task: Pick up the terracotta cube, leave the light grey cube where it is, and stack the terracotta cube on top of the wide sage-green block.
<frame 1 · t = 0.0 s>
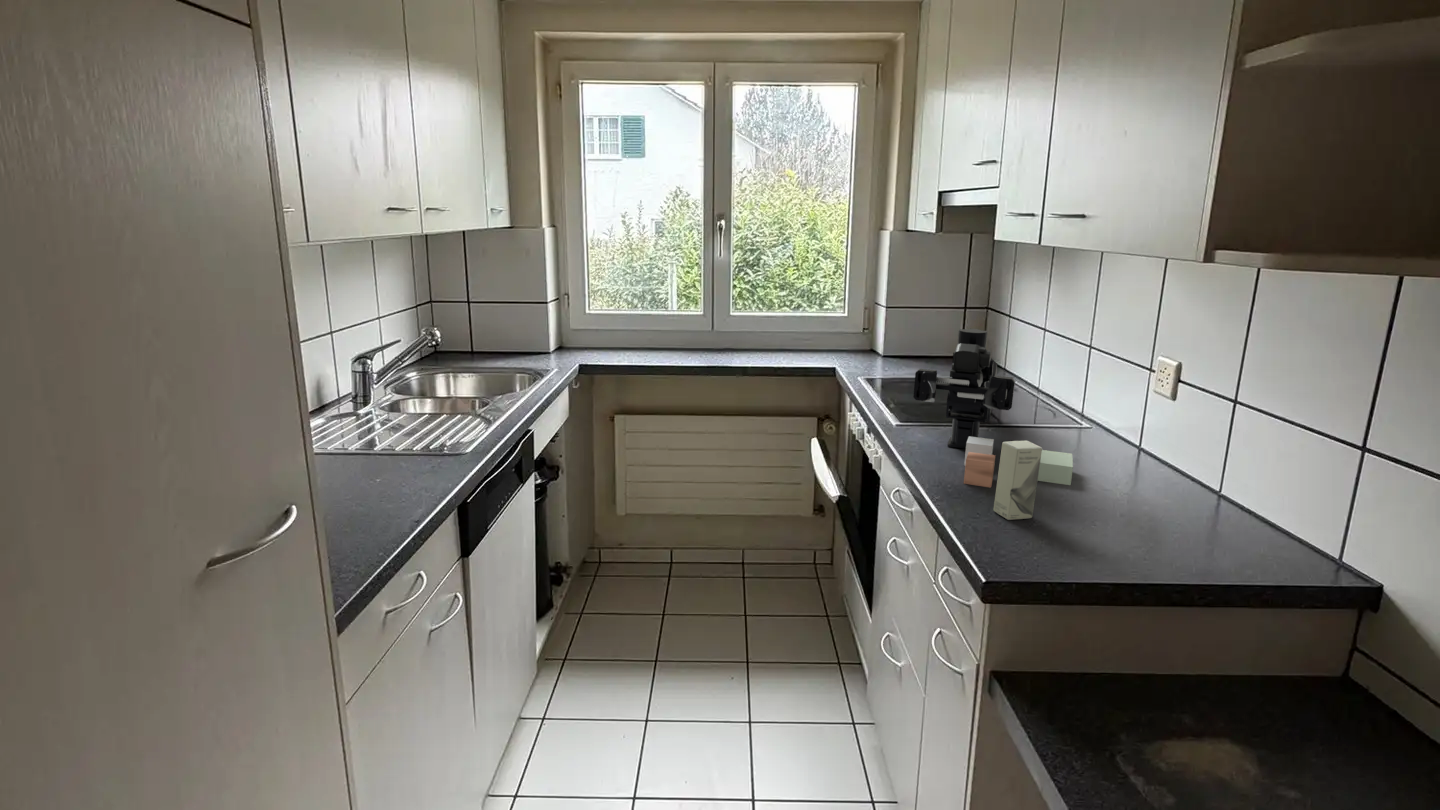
hand: (958, 398, 145), 17 cm above the worktop, tool horizontal, fingers open, 9 cm apart
grey cube: (977, 464, 160), on the worktop
terracotta cube: (978, 481, 150), on the worktop
sage base block: (1045, 476, 154), on the worktop
box: (1013, 515, 134), on the worktop
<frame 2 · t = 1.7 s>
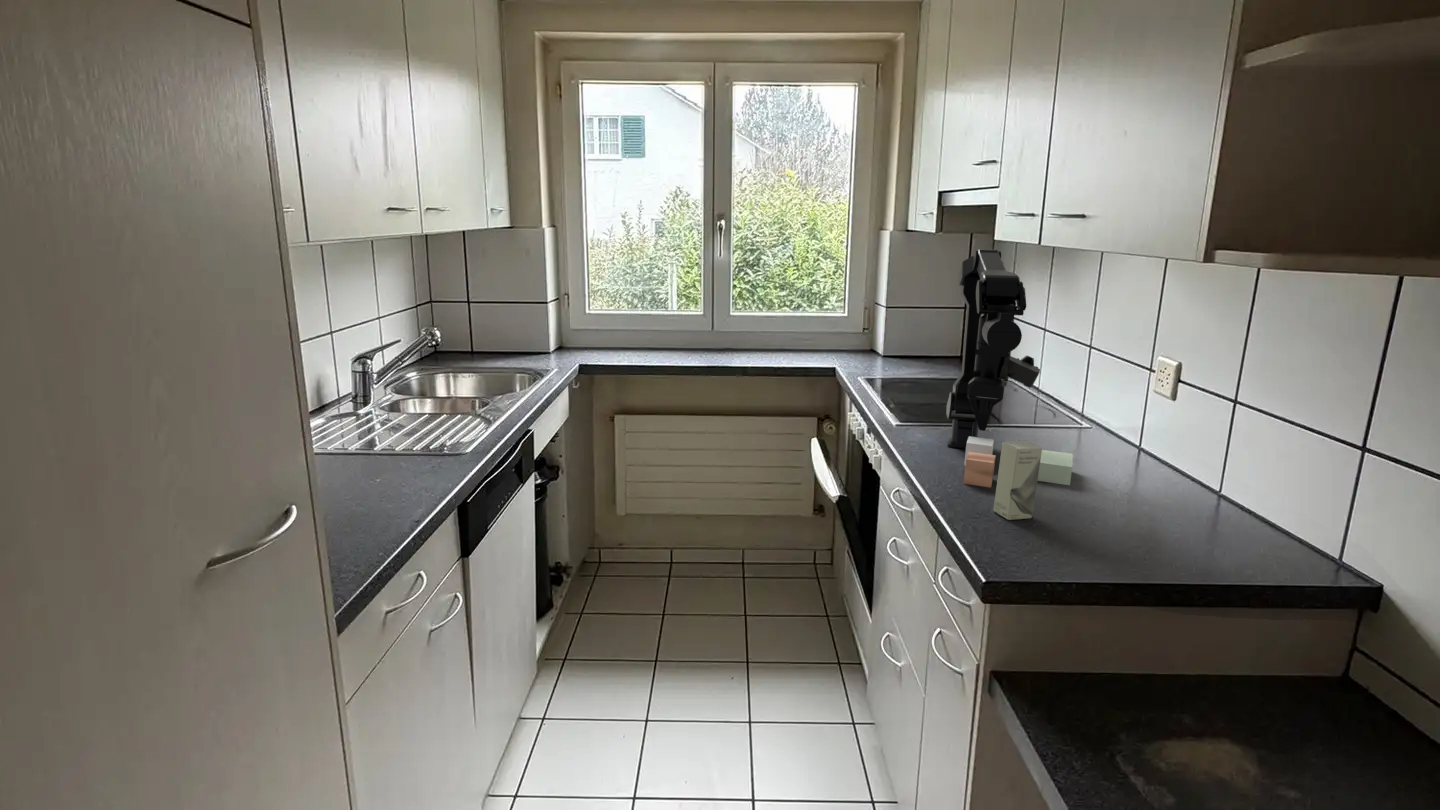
hand: (984, 424, 147), 11 cm above the worktop, tool pointing down, fingers open, 9 cm apart
nothing on the worktop moved.
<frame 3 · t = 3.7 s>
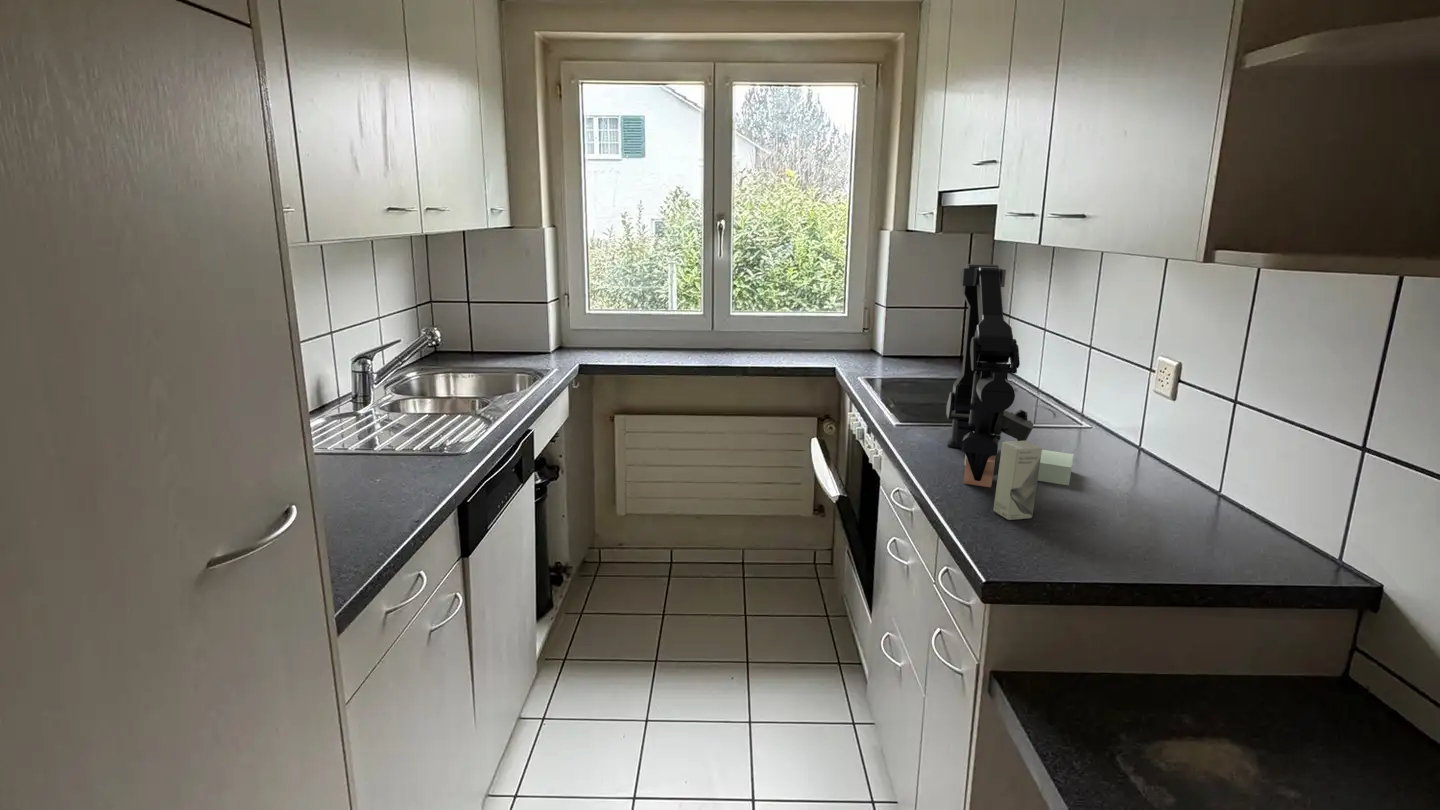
hand: (978, 476, 150), 1 cm above the worktop, tool pointing down, fingers closed on terracotta cube, 5 cm apart
terracotta cube: (978, 481, 150), on the worktop, touching gripper
everything else where it was.
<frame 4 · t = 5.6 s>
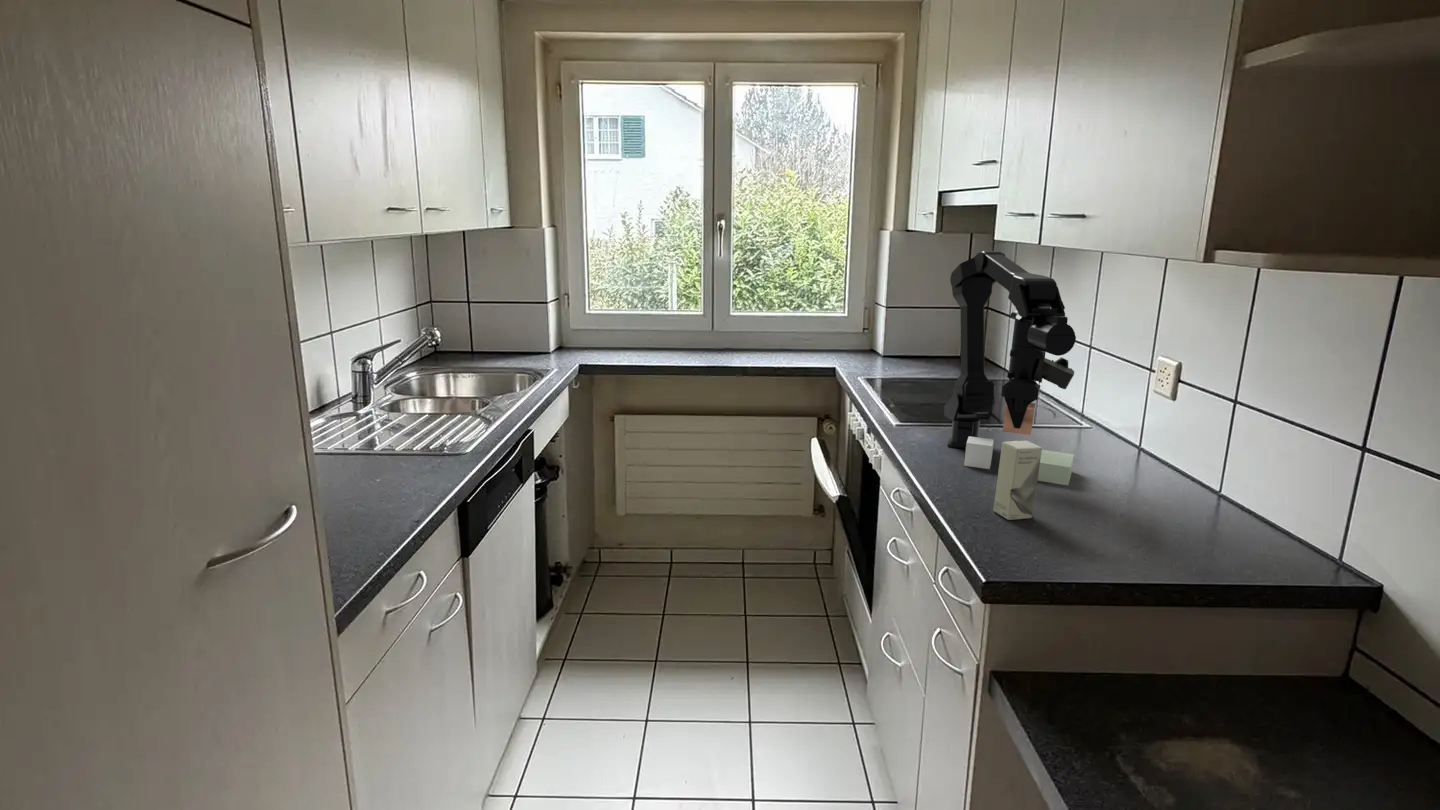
hand: (1018, 424, 149), 11 cm above the worktop, tool pointing down, fingers closed on terracotta cube, 5 cm apart
terracotta cube: (1017, 429, 150), point 10 cm above the worktop, touching gripper
everything else where it was.
when the fingers open (6 cm above the worktop, at t = 7.7 s): terracotta cube drops 2 cm, point 4 cm above the worktop.
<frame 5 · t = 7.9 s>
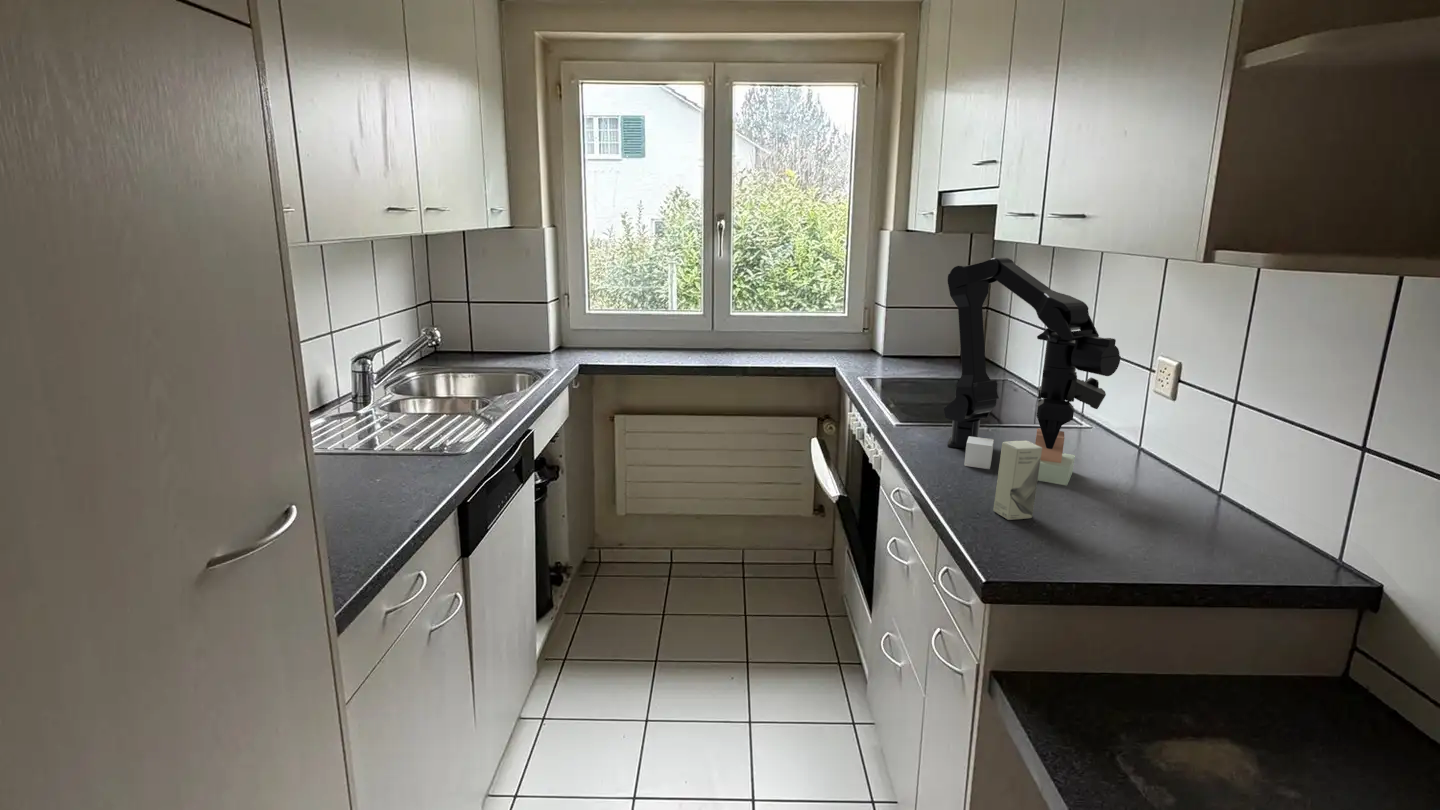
hand: (1049, 443, 153), 6 cm above the worktop, tool pointing down, fingers open, 7 cm apart
terracotta cube: (1047, 457, 153), point 4 cm above the worktop
everything else where it was.
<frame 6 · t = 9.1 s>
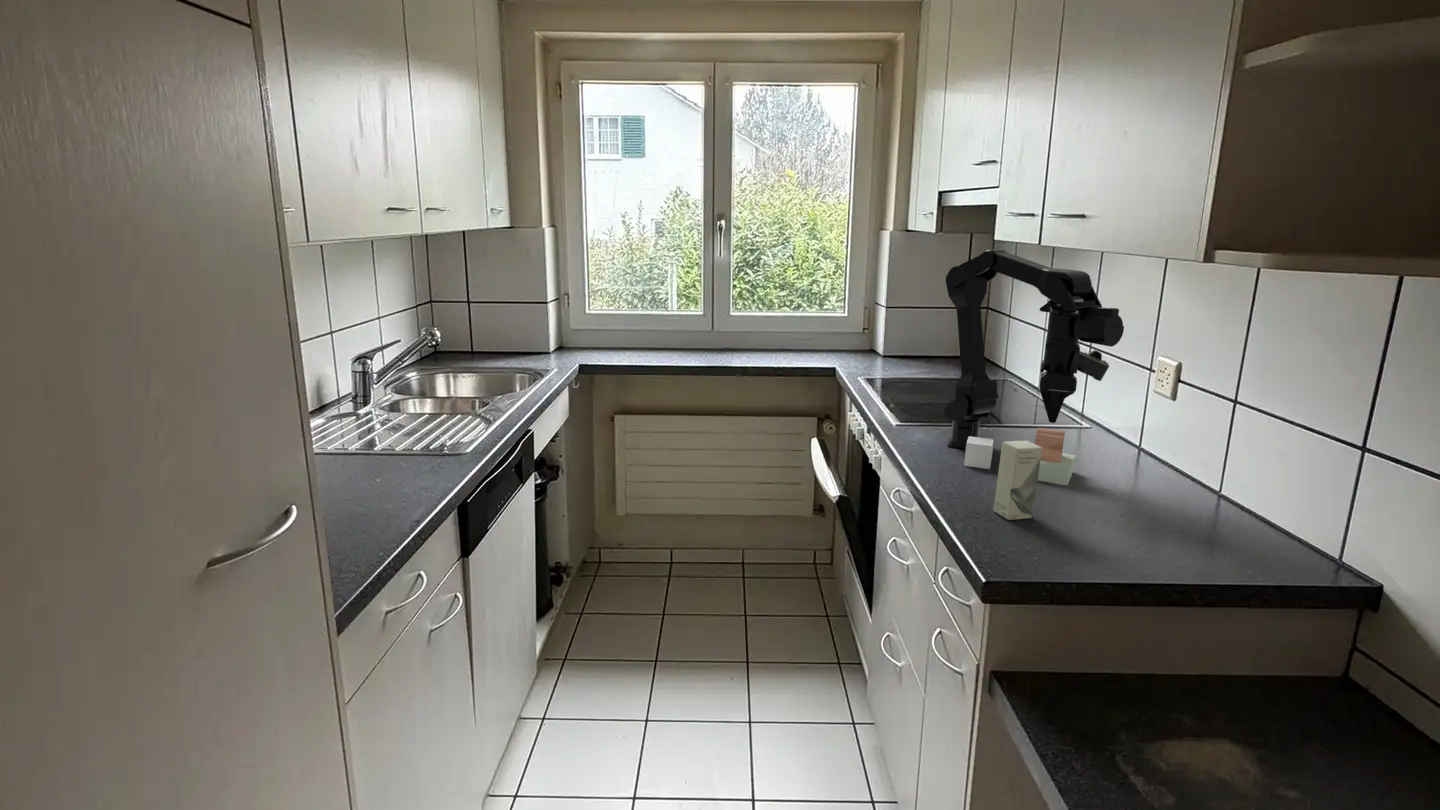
hand: (1052, 416, 151), 12 cm above the worktop, tool pointing down, fingers open, 9 cm apart
nothing on the worktop moved.
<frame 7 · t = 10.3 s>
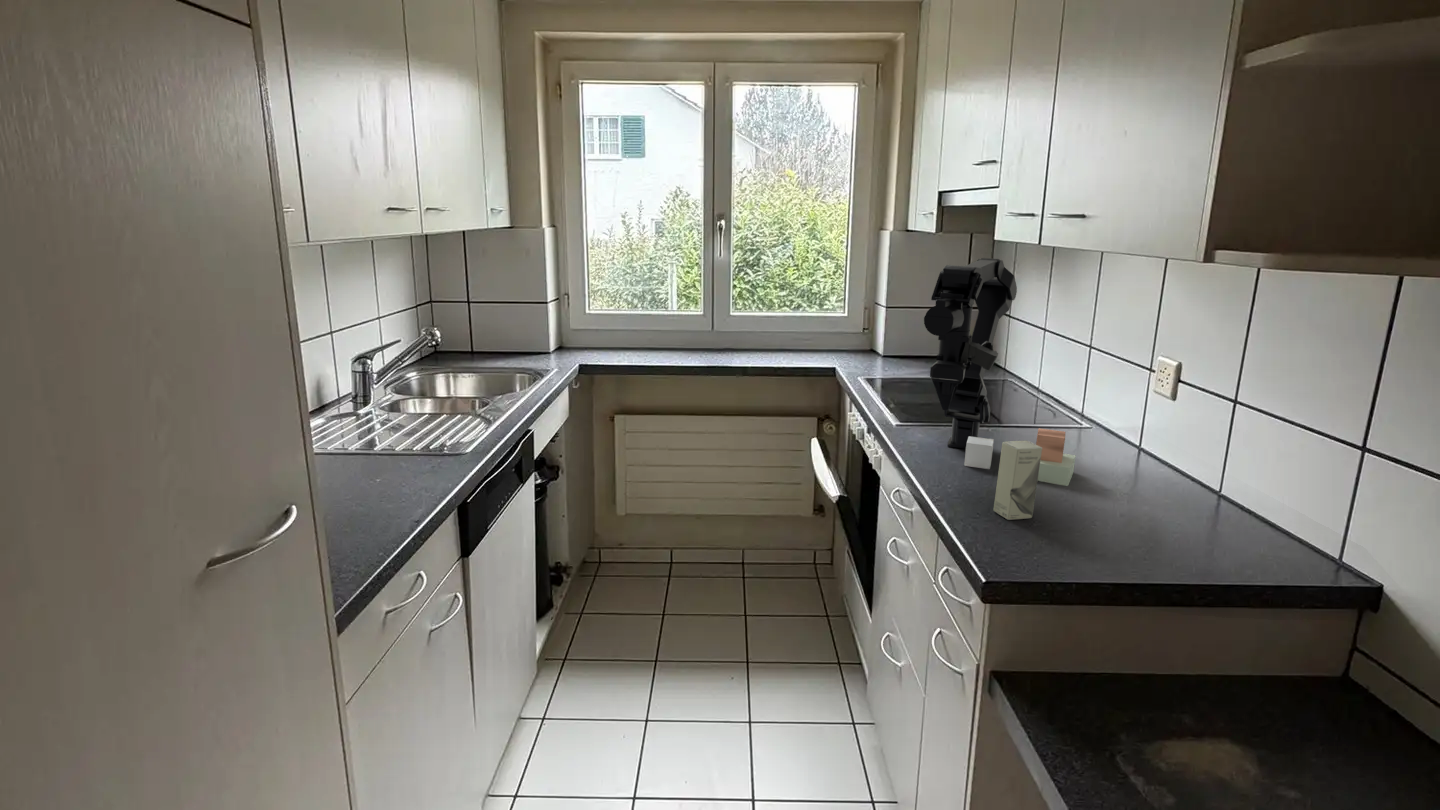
hand: (948, 404, 159), 12 cm above the worktop, tool pointing down, fingers open, 9 cm apart
terracotta cube: (1048, 457, 153), point 4 cm above the worktop, touching sage base block
sage base block: (1046, 476, 154), on the worktop, touching terracotta cube
everything else where it was.
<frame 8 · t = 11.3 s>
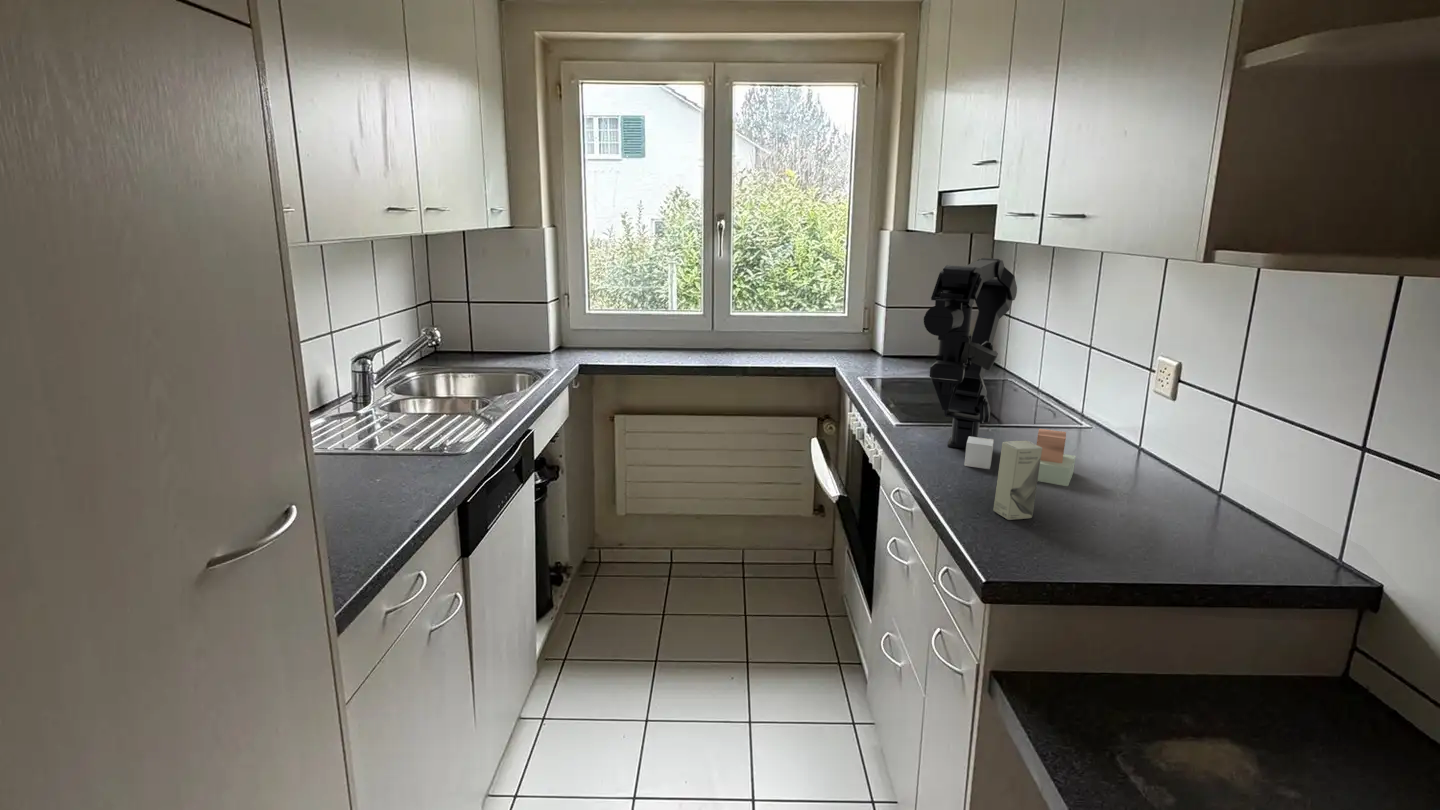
hand: (947, 404, 159), 12 cm above the worktop, tool pointing down, fingers open, 9 cm apart
terracotta cube: (1048, 457, 153), point 4 cm above the worktop
sage base block: (1045, 477, 154), on the worktop
everything else where it was.
at the end: terracotta cube 0.3 cm off-centre on the sage base block, point 4.0 cm above the sage base block's base; terracotta cube tilted 0°; grey cube moved 0.1 cm from its start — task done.
